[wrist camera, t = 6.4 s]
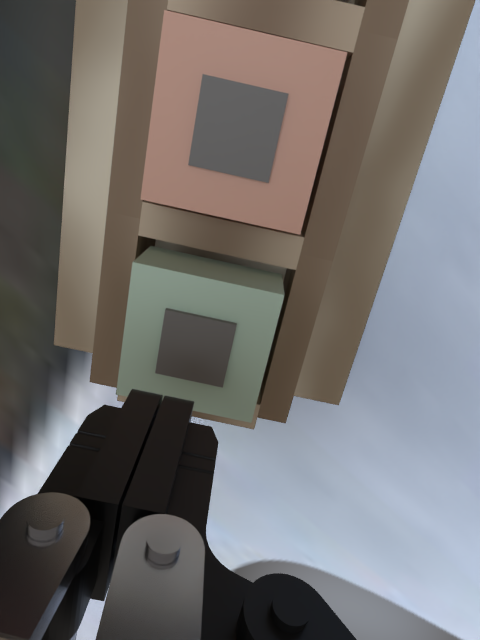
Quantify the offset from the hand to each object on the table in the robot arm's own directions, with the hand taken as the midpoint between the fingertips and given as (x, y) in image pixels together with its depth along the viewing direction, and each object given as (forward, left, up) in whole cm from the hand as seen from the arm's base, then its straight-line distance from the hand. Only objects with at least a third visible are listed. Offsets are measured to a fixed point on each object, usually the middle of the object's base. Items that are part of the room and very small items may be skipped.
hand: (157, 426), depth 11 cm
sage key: (0, 0, -8) cm, 8 cm away
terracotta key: (0, -7, -7) cm, 10 cm away
